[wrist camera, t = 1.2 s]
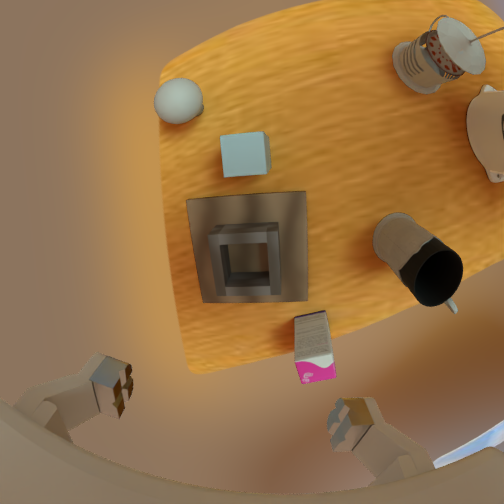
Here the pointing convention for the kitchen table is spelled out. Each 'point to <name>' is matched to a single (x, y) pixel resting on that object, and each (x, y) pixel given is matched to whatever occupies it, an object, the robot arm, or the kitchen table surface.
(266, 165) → the peg
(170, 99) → the lightbulb
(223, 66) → the kitchen table surface
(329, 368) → the supplement box
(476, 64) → the french press
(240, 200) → the socket
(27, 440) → the robot arm
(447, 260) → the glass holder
